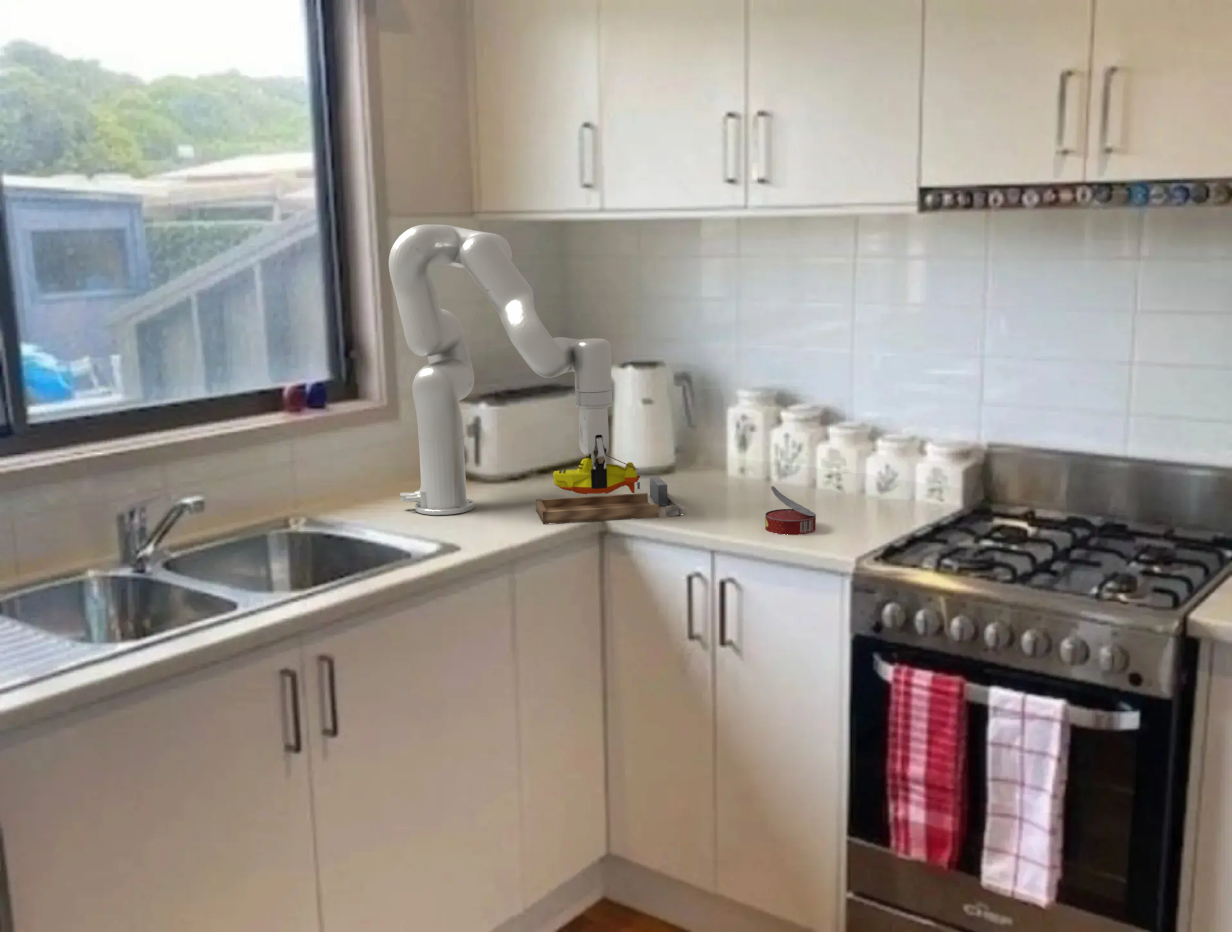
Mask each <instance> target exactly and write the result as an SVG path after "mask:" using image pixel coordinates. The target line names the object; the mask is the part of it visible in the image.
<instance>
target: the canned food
mask: <svg viewBox="0 0 1232 932" xmlns="http://www.w3.org/2000/svg"><path fill="white" fill-rule="evenodd" d="M770 490H771V491H772V494H774V496H775V497H776V498H777V499H778V500H779V501H780V502H781V503H782V504H783V505H785V506H786V507H788V508H779V509H772V510H769V511H767V512H766V513H765V515H764V517H765V519H764V520H765V521H764V522H765V523H764V524H765V527H764V528H765V530H766V531H767V532H769V533H771V532H773V533H772V534H775V533H777V535H782V534H785V536H800V535H801V534H802V535H806V534H811V533H813V532H815V531H816V528H817V527H816V526H817V525H816V524H817V523H816V522H817V521H816V520H817V519H816V518H817V514H816V512H813V511H811V509H809V508H806V507H805V506H803V505H801V504H799V503H797V502H796V501H793V500H792V499H790V498H789V497H787V496H786V495H784V494H783V493H781V492H780V491H779V490H778V489H777V488H776V487H775V486H774V485H771V486H770ZM787 534H788V535H787ZM799 534H800V535H799Z"/></svg>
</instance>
